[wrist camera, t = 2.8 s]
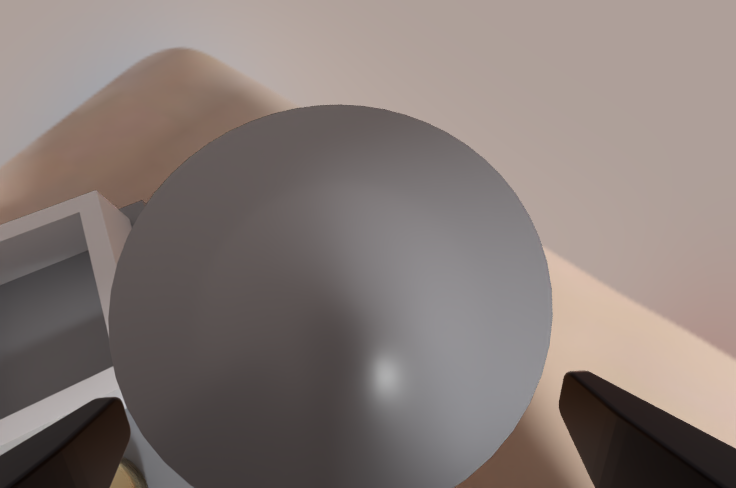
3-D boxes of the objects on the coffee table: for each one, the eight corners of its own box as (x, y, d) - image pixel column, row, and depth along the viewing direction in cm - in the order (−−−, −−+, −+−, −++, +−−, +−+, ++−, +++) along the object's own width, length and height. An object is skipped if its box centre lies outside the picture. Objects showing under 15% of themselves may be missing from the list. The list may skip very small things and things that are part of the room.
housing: (256, 520, 14) (224, 552, 10) (-47, 707, 11) (-213, 824, 8) (154, 212, 19) (112, 169, 16) (-64, 297, 17) (-167, 268, 14)
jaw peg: (420, 432, 15) (631, 476, 3) (298, 452, 15) (61, 579, 3) (399, 314, 17) (483, 90, 6) (291, 328, 17) (138, 120, 5)
